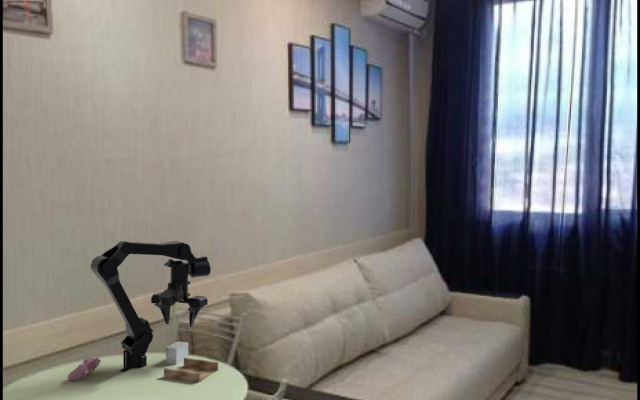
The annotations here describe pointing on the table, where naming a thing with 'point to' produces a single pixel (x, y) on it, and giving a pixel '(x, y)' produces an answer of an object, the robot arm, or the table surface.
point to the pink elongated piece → (84, 368)
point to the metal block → (176, 352)
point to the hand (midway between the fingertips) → (179, 325)
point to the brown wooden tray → (192, 370)
